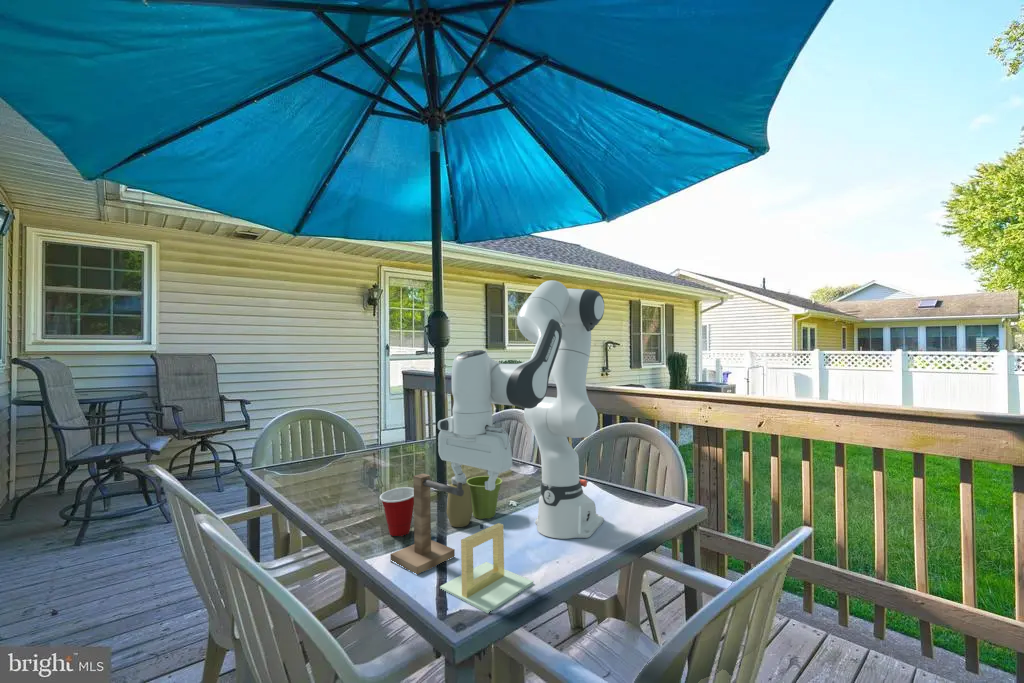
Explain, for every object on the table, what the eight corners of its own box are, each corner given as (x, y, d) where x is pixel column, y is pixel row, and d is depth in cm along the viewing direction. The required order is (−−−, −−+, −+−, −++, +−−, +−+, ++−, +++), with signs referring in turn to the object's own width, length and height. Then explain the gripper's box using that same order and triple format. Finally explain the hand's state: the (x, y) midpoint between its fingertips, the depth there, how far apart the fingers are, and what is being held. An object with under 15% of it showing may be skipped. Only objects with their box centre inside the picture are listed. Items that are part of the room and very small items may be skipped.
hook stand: (427, 545, 123) (426, 464, 124) (480, 568, 110) (479, 476, 110) (390, 561, 114) (389, 473, 115) (443, 588, 101) (441, 488, 101)
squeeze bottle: (460, 517, 144) (459, 461, 144) (478, 523, 139) (477, 464, 139) (441, 525, 138) (440, 466, 138) (459, 531, 133) (458, 470, 133)
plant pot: (498, 523, 138) (497, 487, 138) (461, 521, 141) (461, 485, 141) (506, 510, 150) (505, 476, 150) (472, 508, 152) (471, 474, 152)
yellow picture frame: (499, 573, 106) (498, 522, 106) (504, 576, 105) (503, 524, 105) (461, 595, 97) (461, 539, 97) (467, 598, 96) (466, 541, 96)
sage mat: (486, 564, 112) (486, 561, 112) (533, 583, 102) (533, 581, 102) (439, 588, 101) (439, 586, 101) (487, 613, 91) (487, 610, 91)
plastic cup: (373, 533, 132) (372, 492, 132) (405, 523, 140) (404, 484, 140) (391, 544, 124) (391, 501, 125) (424, 533, 132) (424, 492, 132)
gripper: (517, 425, 95) (519, 490, 95) (453, 417, 108) (455, 474, 108) (497, 430, 90) (499, 499, 90) (432, 421, 104) (434, 481, 104)
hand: (474, 485), depth 99 cm, fingers open, 8 cm apart
